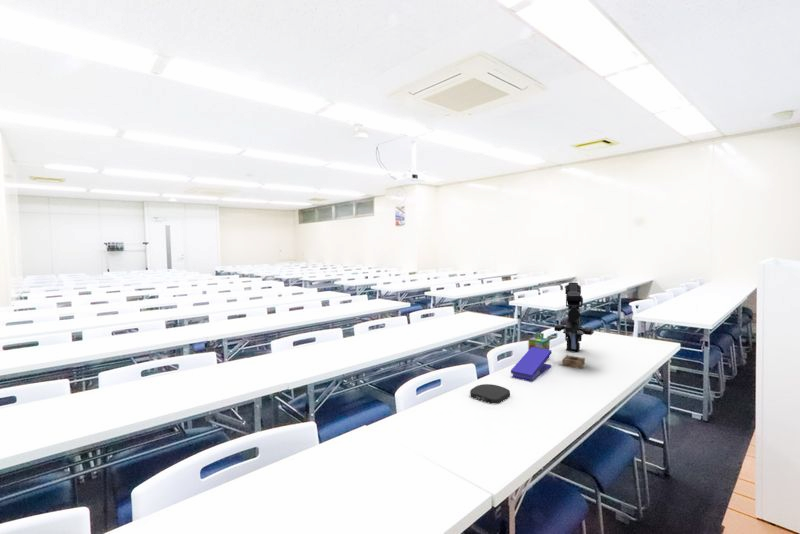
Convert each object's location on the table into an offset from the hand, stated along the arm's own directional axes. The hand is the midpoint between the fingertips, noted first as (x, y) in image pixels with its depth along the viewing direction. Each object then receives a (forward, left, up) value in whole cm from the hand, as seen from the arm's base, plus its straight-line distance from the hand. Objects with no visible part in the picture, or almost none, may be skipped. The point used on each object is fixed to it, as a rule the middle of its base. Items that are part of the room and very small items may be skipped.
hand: (573, 345), depth 208 cm
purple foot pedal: (-14, -23, -12) cm, 29 cm away
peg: (0, 0, -2) cm, 2 cm away
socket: (0, 0, -11) cm, 11 cm away
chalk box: (-19, +1, -11) cm, 22 cm away
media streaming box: (-18, -64, -12) cm, 67 cm away
